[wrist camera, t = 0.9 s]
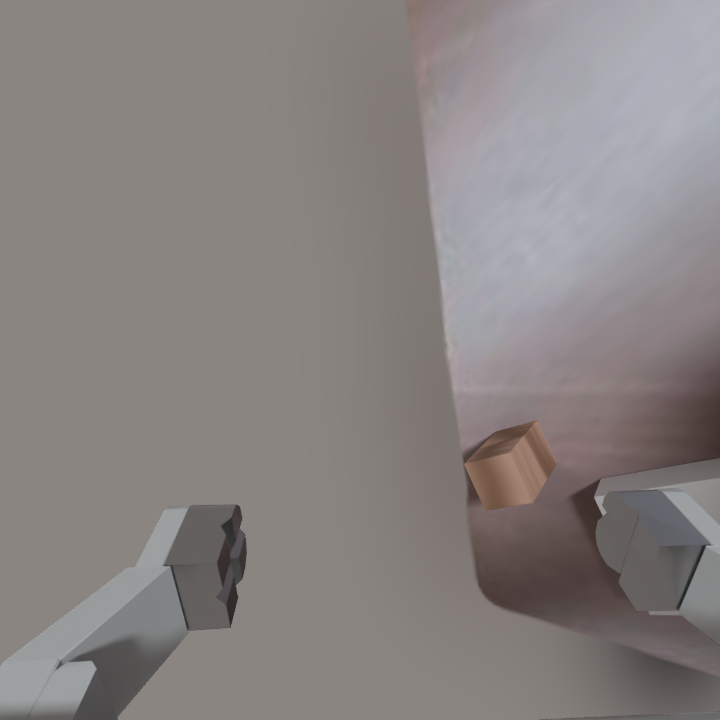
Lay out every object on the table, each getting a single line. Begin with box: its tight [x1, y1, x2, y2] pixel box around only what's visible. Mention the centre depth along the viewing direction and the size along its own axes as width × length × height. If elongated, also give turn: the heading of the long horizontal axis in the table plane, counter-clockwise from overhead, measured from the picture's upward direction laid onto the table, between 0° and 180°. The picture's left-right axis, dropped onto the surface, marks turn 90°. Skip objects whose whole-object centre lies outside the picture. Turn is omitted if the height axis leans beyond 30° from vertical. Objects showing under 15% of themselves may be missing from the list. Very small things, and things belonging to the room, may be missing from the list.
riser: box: [594, 458, 720, 615], centre depth 40 cm, size 12×12×4 cm
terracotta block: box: [464, 420, 557, 510], centre depth 46 cm, size 5×5×9 cm
